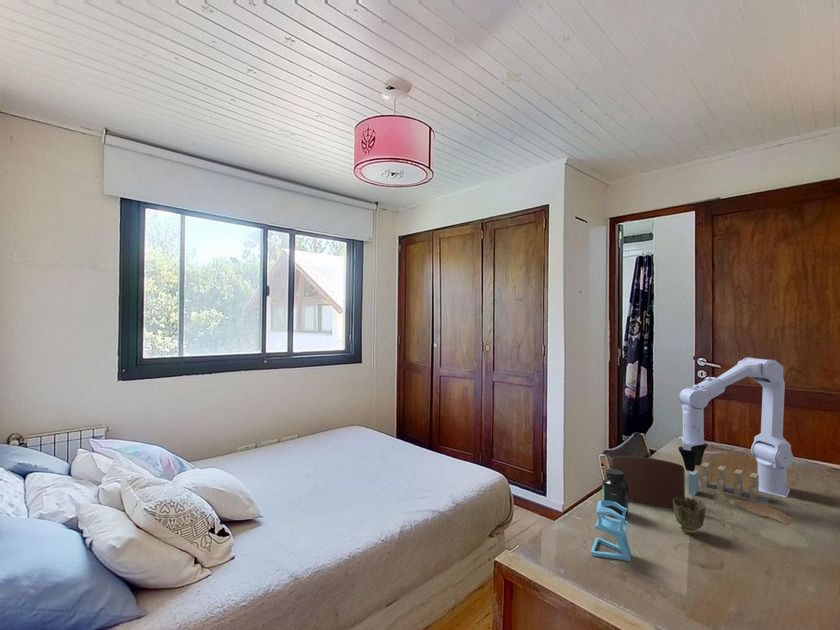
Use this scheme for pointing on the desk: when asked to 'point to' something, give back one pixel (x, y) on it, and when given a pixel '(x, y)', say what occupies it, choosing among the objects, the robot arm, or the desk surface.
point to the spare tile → (693, 483)
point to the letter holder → (651, 479)
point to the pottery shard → (763, 511)
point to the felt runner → (732, 491)
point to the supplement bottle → (615, 490)
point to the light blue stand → (612, 531)
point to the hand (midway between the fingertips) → (693, 467)
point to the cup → (689, 514)
